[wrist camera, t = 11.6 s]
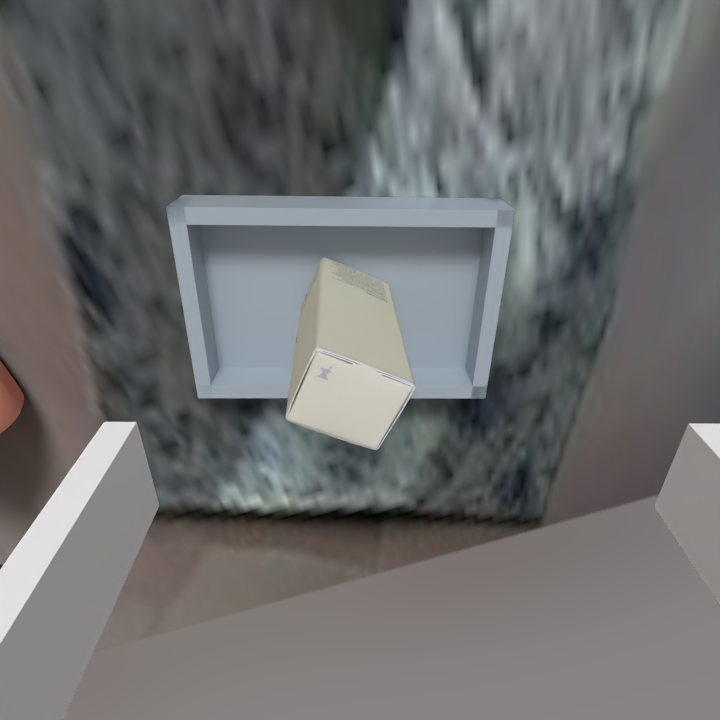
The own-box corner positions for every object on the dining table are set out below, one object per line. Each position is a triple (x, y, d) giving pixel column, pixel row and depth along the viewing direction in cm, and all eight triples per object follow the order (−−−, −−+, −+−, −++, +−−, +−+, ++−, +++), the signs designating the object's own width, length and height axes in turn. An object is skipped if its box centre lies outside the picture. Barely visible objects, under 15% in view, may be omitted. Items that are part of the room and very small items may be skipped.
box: (298, 309, 35) (275, 421, 24) (323, 252, 33) (310, 344, 22) (368, 337, 36) (377, 456, 25) (396, 284, 34) (419, 386, 23)
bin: (182, 195, 32) (166, 206, 29) (500, 198, 32) (515, 210, 30) (209, 373, 38) (198, 398, 35) (474, 374, 39) (485, 398, 36)
